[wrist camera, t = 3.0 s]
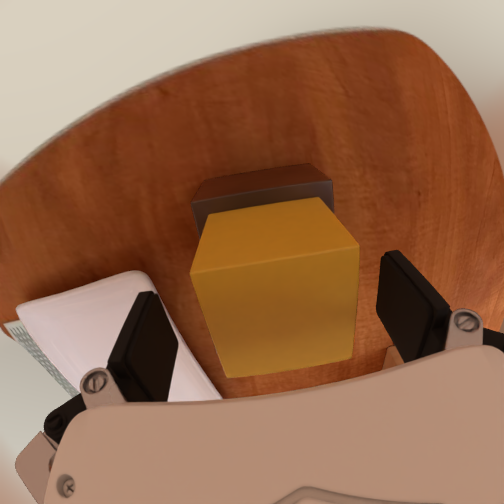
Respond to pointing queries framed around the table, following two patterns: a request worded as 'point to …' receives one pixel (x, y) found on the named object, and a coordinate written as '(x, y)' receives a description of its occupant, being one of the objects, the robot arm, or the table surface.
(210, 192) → the base block
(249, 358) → the top block
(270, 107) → the table surface
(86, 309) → the tray
